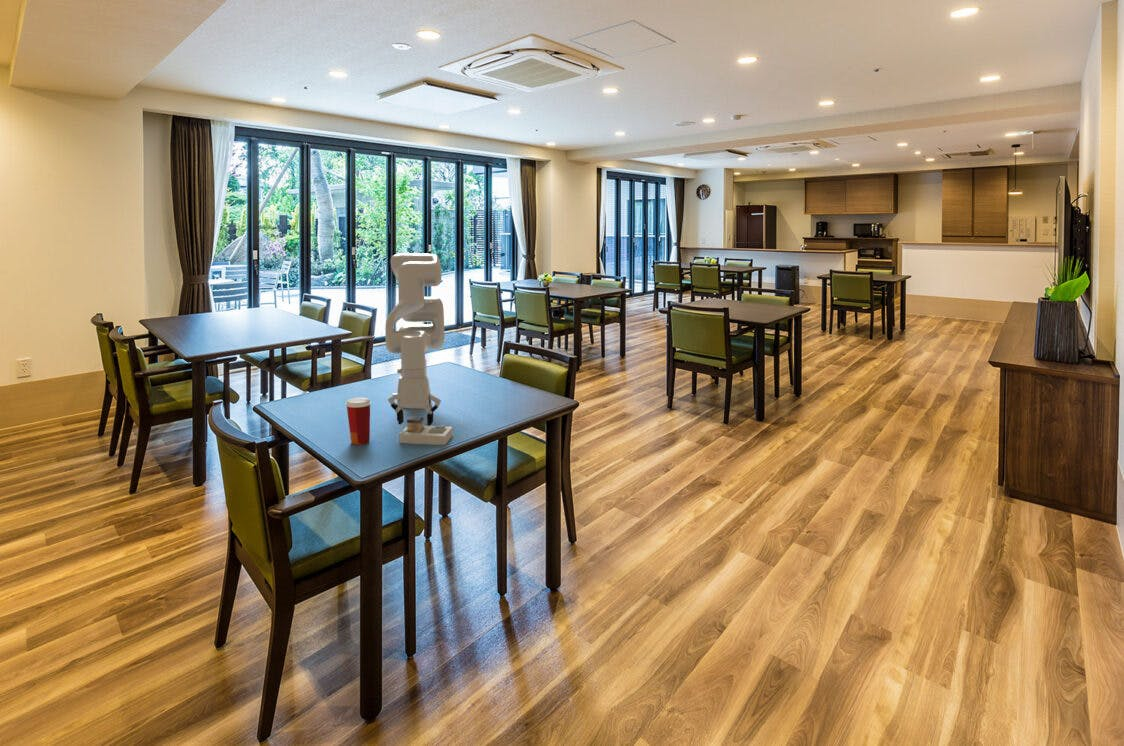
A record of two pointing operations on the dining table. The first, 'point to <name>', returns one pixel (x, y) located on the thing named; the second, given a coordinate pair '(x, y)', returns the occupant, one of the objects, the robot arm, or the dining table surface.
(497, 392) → the dining table surface
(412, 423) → the plug
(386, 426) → the dining table surface
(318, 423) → the dining table surface
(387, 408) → the dining table surface
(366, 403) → the paper cup
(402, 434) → the socket block
